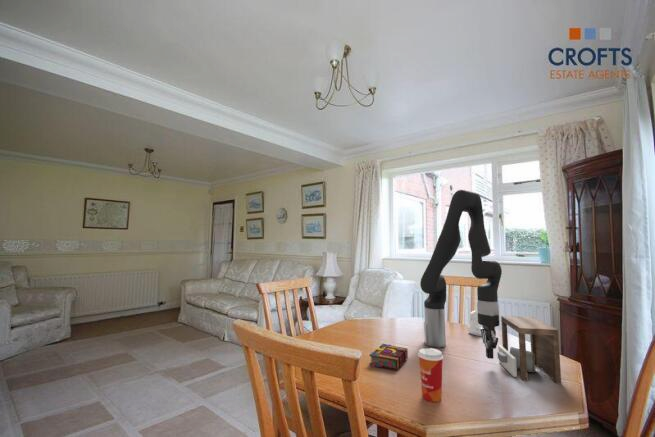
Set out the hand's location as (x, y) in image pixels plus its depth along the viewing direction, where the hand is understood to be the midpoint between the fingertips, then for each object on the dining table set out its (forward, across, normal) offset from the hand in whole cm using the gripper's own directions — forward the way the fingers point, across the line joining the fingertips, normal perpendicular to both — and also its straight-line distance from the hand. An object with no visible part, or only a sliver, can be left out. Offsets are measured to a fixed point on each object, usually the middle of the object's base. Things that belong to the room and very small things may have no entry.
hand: (489, 357), depth 117 cm
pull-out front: (+4, +1, +5) cm, 6 cm away
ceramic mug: (+4, -2, +12) cm, 13 cm away
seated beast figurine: (+4, -45, +8) cm, 46 cm away
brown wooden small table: (+4, +1, +14) cm, 14 cm away
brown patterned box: (+4, 0, -38) cm, 39 cm away
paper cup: (+4, +27, -26) cm, 38 cm away
